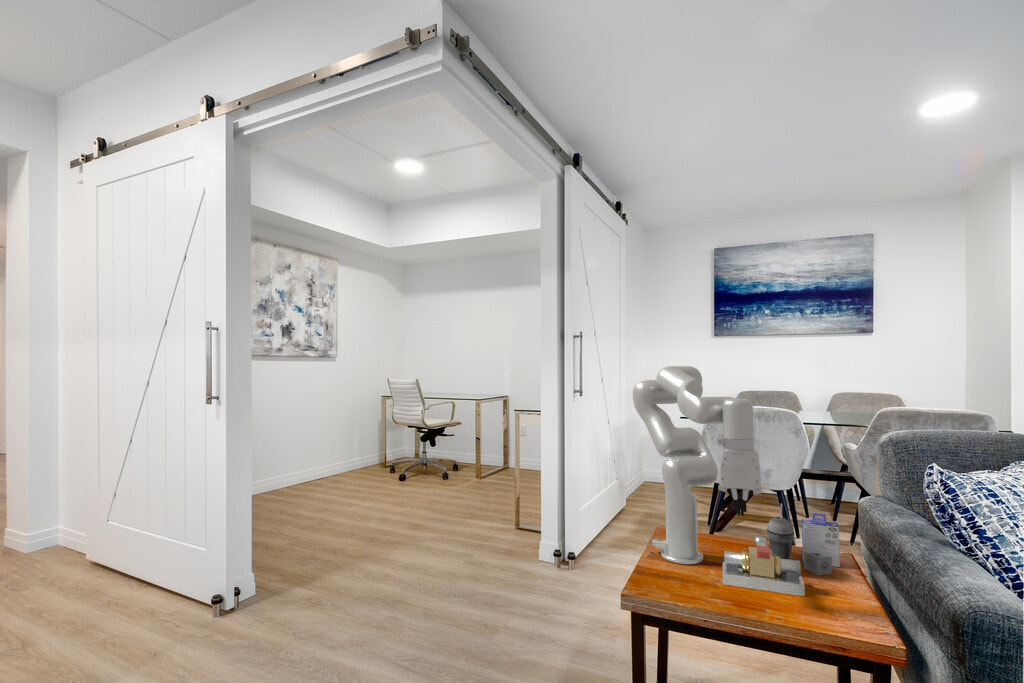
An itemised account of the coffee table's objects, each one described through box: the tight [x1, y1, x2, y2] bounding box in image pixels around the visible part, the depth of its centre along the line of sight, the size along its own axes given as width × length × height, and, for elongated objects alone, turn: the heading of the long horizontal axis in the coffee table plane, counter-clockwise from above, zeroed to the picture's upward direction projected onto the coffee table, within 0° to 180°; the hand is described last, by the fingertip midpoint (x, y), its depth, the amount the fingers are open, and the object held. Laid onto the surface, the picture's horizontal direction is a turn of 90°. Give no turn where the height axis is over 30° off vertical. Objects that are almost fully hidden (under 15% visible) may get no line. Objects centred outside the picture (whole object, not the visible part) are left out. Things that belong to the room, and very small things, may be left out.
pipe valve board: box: [722, 546, 806, 597], centre depth 144 cm, size 20×9×11 cm, turn 68°
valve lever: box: [754, 535, 770, 559], centre depth 139 cm, size 14×3×2 cm, turn 158°
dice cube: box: [803, 551, 833, 576], centre depth 152 cm, size 5×5×5 cm
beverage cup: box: [766, 503, 795, 560], centre depth 153 cm, size 7×7×20 cm
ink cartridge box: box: [801, 512, 841, 568], centre depth 159 cm, size 10×6×14 cm, turn 65°
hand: (740, 514), depth 137 cm, fingers closed
